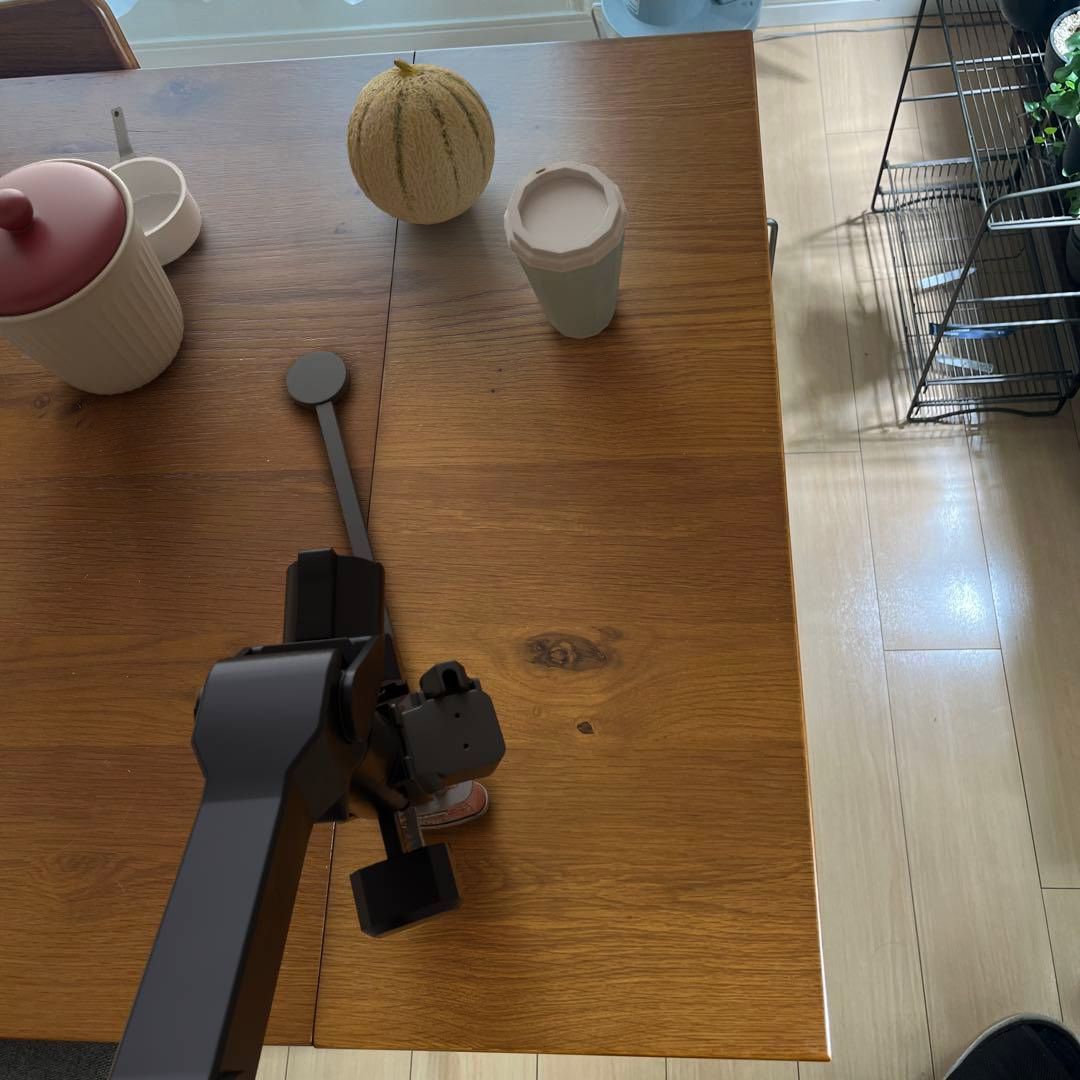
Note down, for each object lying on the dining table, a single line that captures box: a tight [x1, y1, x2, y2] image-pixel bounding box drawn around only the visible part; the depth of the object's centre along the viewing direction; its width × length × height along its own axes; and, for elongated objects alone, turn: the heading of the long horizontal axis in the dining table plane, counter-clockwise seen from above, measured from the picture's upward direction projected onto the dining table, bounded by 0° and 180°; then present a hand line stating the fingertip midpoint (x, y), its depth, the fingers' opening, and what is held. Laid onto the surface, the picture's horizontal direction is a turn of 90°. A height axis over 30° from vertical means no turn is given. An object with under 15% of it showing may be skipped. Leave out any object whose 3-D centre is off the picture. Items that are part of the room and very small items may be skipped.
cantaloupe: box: [346, 58, 496, 225], centre depth 95 cm, size 15×15×15 cm
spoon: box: [285, 350, 413, 709], centre depth 86 cm, size 40×6×1 cm, turn 18°
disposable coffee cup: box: [503, 159, 630, 340], centre depth 87 cm, size 11×11×15 cm
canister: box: [0, 158, 185, 396], centre depth 89 cm, size 18×18×21 cm
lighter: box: [398, 779, 490, 830], centre depth 71 cm, size 8×3×10 cm, turn 97°
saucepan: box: [108, 106, 203, 267], centre depth 104 cm, size 12×20×6 cm, turn 18°
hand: (410, 797), depth 69 cm, fingers open, 9 cm apart
